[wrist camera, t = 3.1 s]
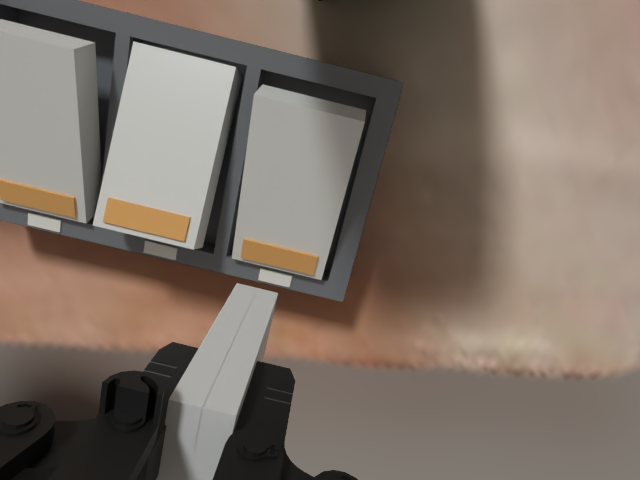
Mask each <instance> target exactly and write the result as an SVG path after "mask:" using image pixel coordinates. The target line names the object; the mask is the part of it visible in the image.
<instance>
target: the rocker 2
mask: <svg viewBox="0 0 640 480" xmlns="http://www.w3.org/2000/svg"><path fill="white" fill-rule="evenodd" d="M241 81H242V78H241V76H240V74H239V72H238V70H237V68H236V67H234V66H230V65H226V64H222V63H218V62H214V61H210V60H206V59H202V58H198V57H194V56H190V55H186V54H182V53H178V52H174V51H170V50H166V49H162V48H158V47H154V46H150V45H146V44H142V43H138V42H134V41H133V46H132V50H131V55H130V59H129V64H128V68H127V73H126V77H125V82H124V86H123V91H122V95H121V100H120V104H119V109H118V113H117V118H116V122H115V127H114V131H113V136H112V140H111V145H110V149H109V154H108V158H107V163H106V167H105V172H104V176H103V181H102V185H101V190H100V194H99V199H98V203H97V208H96V212H95V217H94V221H93V226H97V227H101V228H106V229H110V230H114V231H118V232H122V233H126V234H130V235H135V236H139V237H143V238H147V239H151V240H155V241H160V242H164V243H168V244H172V245H176V246H180V247H185V248H189V249H193V250H194V249H198V248H202V247H203V244H204V239H205V235H206V231H207V227H208V222H209V218H210V214H211V209H212V205H213V201H214V197H215V192H216V188H217V184H218V179H219V175H220V171H221V166H222V162H223V158H224V154H225V149H226V145H227V141H228V136H229V132H230V128H231V124H232V119H233V115H234V111H235V106H236V102H237V98H238V94H239V89H240V85H241Z"/></svg>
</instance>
